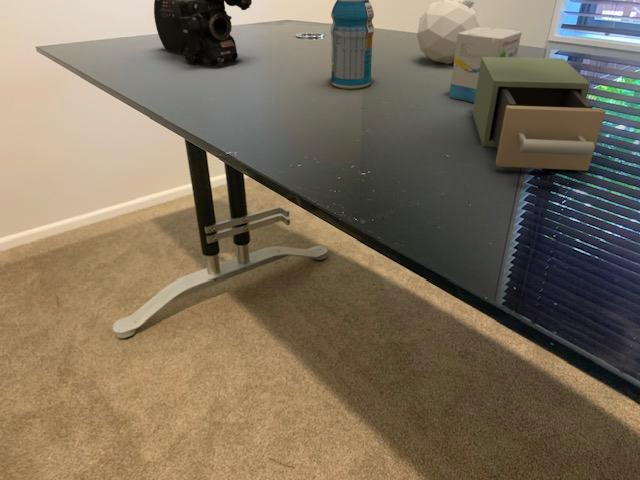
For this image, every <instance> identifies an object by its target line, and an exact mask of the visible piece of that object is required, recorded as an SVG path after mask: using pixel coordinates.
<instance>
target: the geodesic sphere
mask: <svg viewBox="0 0 640 480" xmlns="http://www.w3.org/2000/svg"><path fill="white" fill-rule="evenodd" d="M474 4H475V2H474V1H472V0H469V1H468V0H466V1H465V0H438V1H435V2H432V3H431V4H430V5H429V6H428V7H427V9H425V11H424V12H423V14H422V15H421V16H420V18H419V22H418V28H417V34H416V37H417V43H418V45H419V50H420V52H422V53H423V54H424V55H426V56H427V57H428V58H429V59H431V60H432V61H433V62H437V63H443V64H448V65H449V64H450V65H451V64H453V63H454V58H455V51H456V44H457V36H458V33H460V32H463V31H467V30H470V29H473V28H477V27H481V25H480V21H479V18H478V15H477V11H476V10H475V9H473V7H474Z"/></svg>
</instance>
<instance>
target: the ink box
mask: <svg viewBox="0 0 640 480" xmlns="http://www.w3.org/2000/svg"><path fill="white" fill-rule="evenodd" d="M521 37H522V31H519V30H514V29H506V28H498V27H492V26H490V27H489V26H487V27H484V26H480V27H477V28H473V29H470V30H467V31H463V32H460V33H458V36H457V44H456V51H455V58H454V62H453V65H452V66H453V67H452V74H451V80H450V87H449V95H448V97H449V98H451V99H457V100H460V101H461V100H462V101H466V102H470V103H473V104H474V103H475V96H476V90H477V83H478V77H479V70H480V64H481V57H511V58H518V53H519V47H520V43H521Z"/></svg>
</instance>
